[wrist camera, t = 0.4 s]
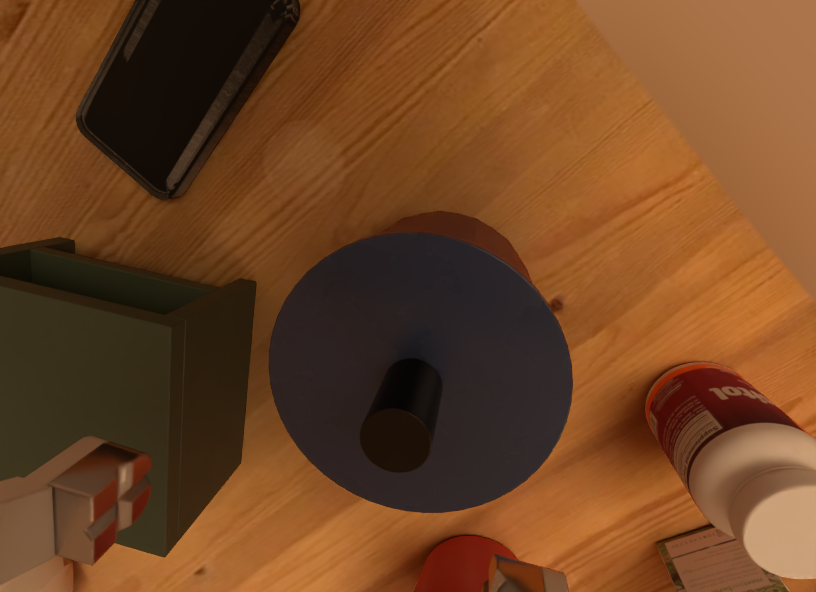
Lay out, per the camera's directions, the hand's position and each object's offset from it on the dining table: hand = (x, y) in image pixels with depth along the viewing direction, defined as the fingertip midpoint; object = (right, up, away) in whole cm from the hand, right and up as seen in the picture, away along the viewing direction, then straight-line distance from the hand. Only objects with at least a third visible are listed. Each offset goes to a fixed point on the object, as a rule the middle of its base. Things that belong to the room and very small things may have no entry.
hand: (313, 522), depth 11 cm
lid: (+2, +2, +9) cm, 9 cm away
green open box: (-17, +1, +24) cm, 30 cm away
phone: (-11, +19, +18) cm, 29 cm away
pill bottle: (+20, -2, +19) cm, 28 cm away
